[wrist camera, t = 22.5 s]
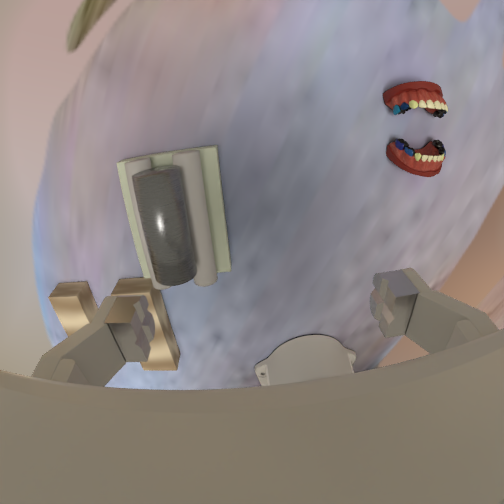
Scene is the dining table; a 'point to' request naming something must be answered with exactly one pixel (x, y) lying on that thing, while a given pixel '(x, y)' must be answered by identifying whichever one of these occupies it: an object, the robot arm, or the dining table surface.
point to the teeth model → (399, 151)
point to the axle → (165, 224)
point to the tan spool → (84, 306)
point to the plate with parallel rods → (197, 206)
